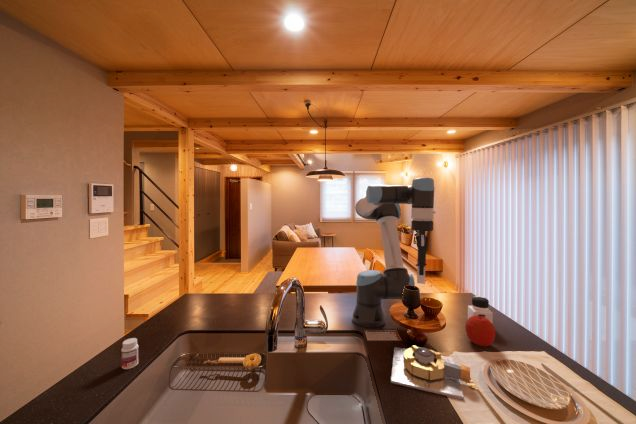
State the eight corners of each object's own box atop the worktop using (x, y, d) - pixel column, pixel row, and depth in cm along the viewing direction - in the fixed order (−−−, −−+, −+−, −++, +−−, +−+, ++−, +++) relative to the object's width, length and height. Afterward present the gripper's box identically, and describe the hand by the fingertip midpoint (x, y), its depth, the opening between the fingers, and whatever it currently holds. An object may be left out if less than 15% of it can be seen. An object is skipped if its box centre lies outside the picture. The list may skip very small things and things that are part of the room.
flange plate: (394, 348, 98) (394, 331, 98) (452, 359, 91) (453, 341, 91) (390, 382, 79) (391, 361, 79) (463, 399, 73) (464, 376, 72)
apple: (459, 338, 106) (460, 311, 106) (479, 336, 109) (480, 309, 108) (479, 352, 96) (480, 322, 96) (501, 349, 99) (502, 319, 98)
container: (492, 330, 114) (493, 301, 113) (473, 328, 115) (474, 300, 115) (485, 322, 121) (485, 295, 121) (467, 321, 123) (467, 294, 122)
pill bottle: (127, 361, 89) (127, 337, 89) (141, 360, 89) (141, 337, 89) (117, 370, 84) (117, 345, 84) (133, 369, 85) (132, 344, 85)
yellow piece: (400, 370, 83) (400, 358, 83) (408, 352, 94) (409, 341, 94) (469, 393, 73) (469, 380, 73) (470, 370, 84) (470, 358, 84)
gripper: (435, 221, 87) (433, 289, 88) (431, 219, 100) (430, 279, 100) (411, 220, 90) (410, 287, 91) (411, 218, 102) (410, 277, 103)
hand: (420, 282), depth 95 cm, fingers closed
